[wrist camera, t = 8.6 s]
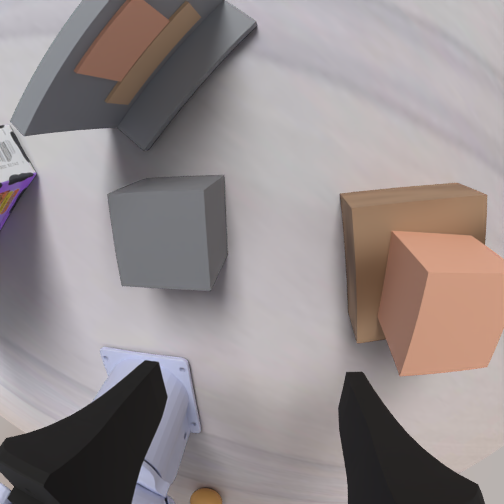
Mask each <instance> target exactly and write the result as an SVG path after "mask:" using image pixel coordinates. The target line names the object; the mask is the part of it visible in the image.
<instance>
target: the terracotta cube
mask: <svg viewBox="0 0 504 504" xmlns="http://www.w3.org/2000/svg"><path fill="white" fill-rule="evenodd" d="M377 317H378V320H379V322H380V325H381V327H382V330H383V332H384V335H385V338H386V340H387V343H388V345H389V348H390V351H391V354H392V356H393V359H394V362H395V364H396V367H397V370H398V373H399V376H412V375H424V374H435V373H445V372H454V371H462V370H470V369H477V368H484V367H487V366H488V364H489V362H490V360H491V357H492V355H493V353H494V351H495V348H496V346H497V344H498V341H499V339H500V336H501V334H502V331H503V329H504V259H503V258H501V257H500V256H499V255H498V254H496V253H495V252H494V251H492V250H491V249H489V248H488V247H487V246H485V245H484V244H483V243H481V242H480V241H479V240H477V239H476V238H474V237H473V236H471V235H456V234H441V233H425V232H407V231H391V239H390V246H389V253H388V260H387V266H386V273H385V279H384V284H383V290H382V295H381V301H380V306H379V311H378V316H377Z"/></svg>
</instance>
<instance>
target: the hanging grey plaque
mask: <svg viewBox="0 0 504 504" xmlns="http://www.w3.org/2000/svg"><path fill="white" fill-rule="evenodd" d="M256 26H257V23H256V21H255V20H254V19H252V18H251V17H249V16H248V15H246V14H245V13H244V12H242V11H241V10H239V9H238V8H236V7H235V6H233V5H232V4H230V3H228V2H227V1H225V0H82V2H81V3H80V4H79V6H78V7H77V8H76V10H75V11H74V12H73V14H72V15H71V16H70V18H69V19H68V21H67V22H66V23H65V25H64V26H63V28H62V29H61V31H60V32H59V34H58V35H57V37H56V38H55V40H54V41H53V43H52V44H51V46H50V47H49V49H48V51H47V52H46V54H45V55H44V57H43V59H42V60H41V62H40V64H39V66H38V67H37V69H36V71H35V73H34V74H33V76H32V78H31V80H30V82H29V83H28V85H27V87H26V89H25V91H24V93H23V95H22V97H21V99H20V101H19V103H18V105H17V107H16V109H15V112H14V114H13V116H12V118H11V120H10V122H11V123H12V124H13V125H14V126H15V127H16V128H17V130H18V131H19V132H20V133H21V134H22V135H23V136H29V135H37V134H45V133H54V132H63V131H74V130H86V129H100V128H118V129H119V130H120V131H121V132H122V133H124V134H125V135H126V136H127V137H128V138H129V139H131V140H132V141H133V142H134V143H135V144H136V145H137V146H139V147H140V148H141V149H142V150H143V151H145V150H149V149H150V148H151V146H152V145H153V143H154V142H155V141H156V139H157V138H158V137H159V136H160V134H161V133H162V132H163V130H164V129H165V128H166V126H167V125H168V124H169V123H170V121H171V120H172V119H173V118H174V116H175V115H176V114H177V113H178V111H179V110H180V109H181V108H182V106H183V105H184V104H185V103H186V102H187V100H188V99H189V98H190V97H191V96H192V95H193V93H194V92H195V91H196V90H197V89H198V88H199V86H200V85H201V84H202V83H203V82H204V81H205V80H206V78H207V77H208V76H209V75H210V74H211V73H212V72H213V71H214V69H215V68H216V67H217V66H218V65H219V64H220V63H221V62H222V61H223V60H224V59H225V58H226V57H227V55H228V54H229V53H230V52H231V51H232V50H233V49H234V48H235V47H236V46H237V45H238V44H239V43H240V42H241V41H242V40H243V39H244V38H245V37H246V36H247V35H248V34H249V33H250V32H251V31H252V30H253V29H254V28H255V27H256Z"/></svg>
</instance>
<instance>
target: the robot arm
mask: <svg viewBox="0 0 504 504" xmlns="http://www.w3.org/2000/svg"><path fill="white" fill-rule="evenodd" d="M100 354H101V357H102V360H103V363H104V366H105V369H106V371H107V374H108V378H107V379H106V381H105V382H104V384H103V385H102V387H101V389H100V390H99V392H98V393H97V395H96V396H95V398H94V399H93V401H92V403H91V404H89V405H88V406H86V407H84V408H83V409H81V410H79V411H78V412H76V413H74V414H72V415H71V416H69V417H67V418H65V419H62V420H60V421H58V422H56V423H54V424H52V425H49V426H47V427H44V428H42V429H39V430H36V431H33V432H30V433H26V434H22V435H18V436H14V437H9V438H6V439H5V441H4V442H3V443H2V445H1V446H0V472H1V473H2V474H3V475H4V476H5V477H6V478H7V479H8V480H9V482H11V484H12V485H13V486H14V488H13V490H12V491H11V490H10V489H9V488H7V487H6V486H5V485H3V484H2V483H0V504H175V502H174V500H173V499H172V498H171V497H169V496H168V495H167V492H168V489H169V486H170V485H171V484H172V483H173V481H174V480H175V478H176V475H177V472H178V469H179V466H180V463H181V459H182V456H183V453H184V450H185V447H186V444H187V440H188V437H189V434H190V432H192V433H200V432H201V425H200V420H199V415H198V410H197V405H196V400H195V395H194V389H193V384H192V379H191V373H190V367H189V362H188V361H187V360H186V359H185V358H181V357H173V356H164V355H156V354H149V353H141V352H134V351H128V350H121V349H115V348H109V347H102V348H101V349H100ZM106 356H107V357H106ZM181 367H182V368H184V369H182V368H181ZM338 411H339V431H340V437H341V443H342V449H343V455H344V462H345V468H346V474H347V484H348V504H485V502H484V499H483V496H482V493H481V490H480V488H479V486H478V484H476V483H474V482H472V481H470V480H469V479H467V478H465V477H463V476H461V475H459V474H457V473H456V472H454V471H453V470H451V469H450V468H448V467H446V466H445V465H444V464H442V463H441V462H440V461H438V460H437V459H436V458H434V457H433V456H432V455H431V454H429V453H428V452H427V451H426V450H425V449H423V448H422V447H421V446H420V445H419V444H418V443H417V442H416V441H415V440H414V439H413V438H412V437H411V436H410V435H409V434H408V433H407V432H406V431H405V430H404V429H403V427H402V426H401V425H400V424H399V423H398V421H397V420H396V419H395V418H394V417H393V415H392V414H391V413H390V411H389V410H388V409H387V407H386V406H385V405H384V403H383V402H382V401H381V399H380V398H379V396H378V395H377V393H376V392H375V390H374V389H373V387H372V386H371V384H370V383H369V381H368V379H367V378H366V376H365V375H364V373H363V372H346V376H345V381H344V386H343V390H342V394H341V399H340V403H339V407H338Z"/></svg>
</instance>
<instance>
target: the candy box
mask: <svg viewBox="0 0 504 504" xmlns="http://www.w3.org/2000/svg"><path fill="white" fill-rule="evenodd" d="M36 174H37V173H36V172H35V170H34V169H33V167H32V165H31V163H30V161H29V160H28V158H27V156H26V155H25V153H24V151H23V150H22V148H21V146H20V144H19V142H18V140H17V138H16V136H15V134H14V132H13V131H12V129H11V127H10V126H9V125H1V126H0V230H1V228H2V226H3V225H4V223H5V221H6V219H7V218H8V216H9V214H10V213H11V211H12V210H13V208H14V207H15V205H16V203H17V201H18V200H19V198H20V197H21V195H22V194H23V192H24V191H25V190H26V188H27V187H28V185H29V184H30V182H31V181H32V180H33V178H34V177H35V175H36Z"/></svg>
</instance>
